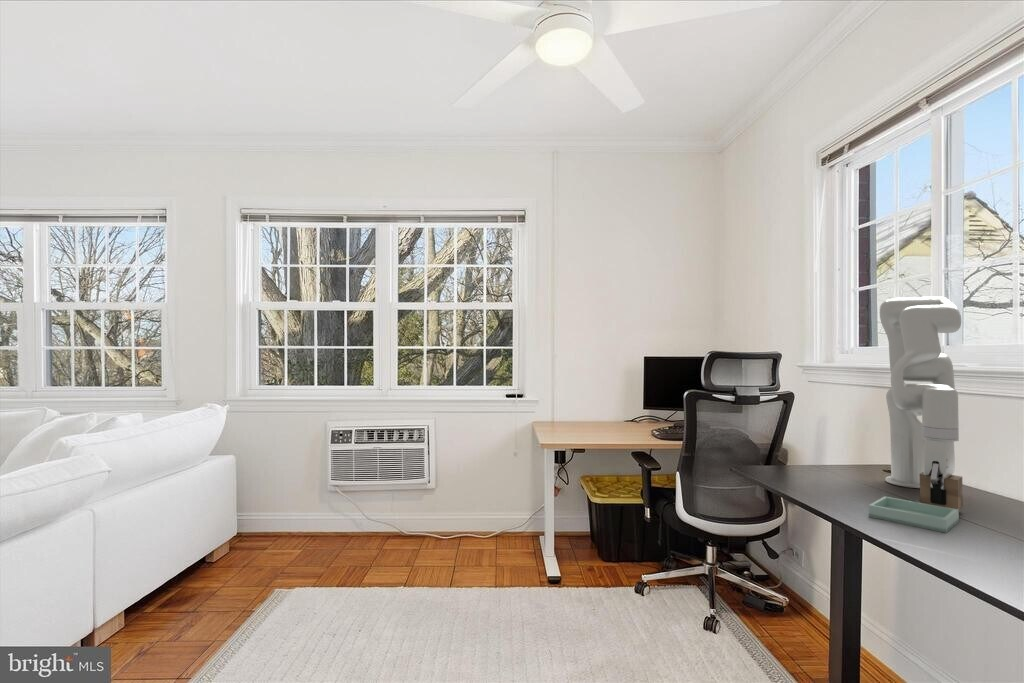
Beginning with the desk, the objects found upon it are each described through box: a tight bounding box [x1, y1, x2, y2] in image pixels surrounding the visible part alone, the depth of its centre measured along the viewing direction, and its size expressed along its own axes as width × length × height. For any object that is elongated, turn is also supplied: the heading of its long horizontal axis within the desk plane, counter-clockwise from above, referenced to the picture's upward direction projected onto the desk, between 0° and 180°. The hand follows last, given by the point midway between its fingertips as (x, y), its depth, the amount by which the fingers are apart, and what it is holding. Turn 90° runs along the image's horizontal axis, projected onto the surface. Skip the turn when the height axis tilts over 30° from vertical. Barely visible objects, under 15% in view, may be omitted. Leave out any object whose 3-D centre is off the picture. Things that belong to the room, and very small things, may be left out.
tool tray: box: [868, 495, 960, 534], centre depth 132 cm, size 13×16×3 cm
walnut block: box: [919, 472, 964, 511], centre depth 139 cm, size 5×8×8 cm, turn 39°
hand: (941, 500), depth 139 cm, fingers closed on walnut block, 5 cm apart
